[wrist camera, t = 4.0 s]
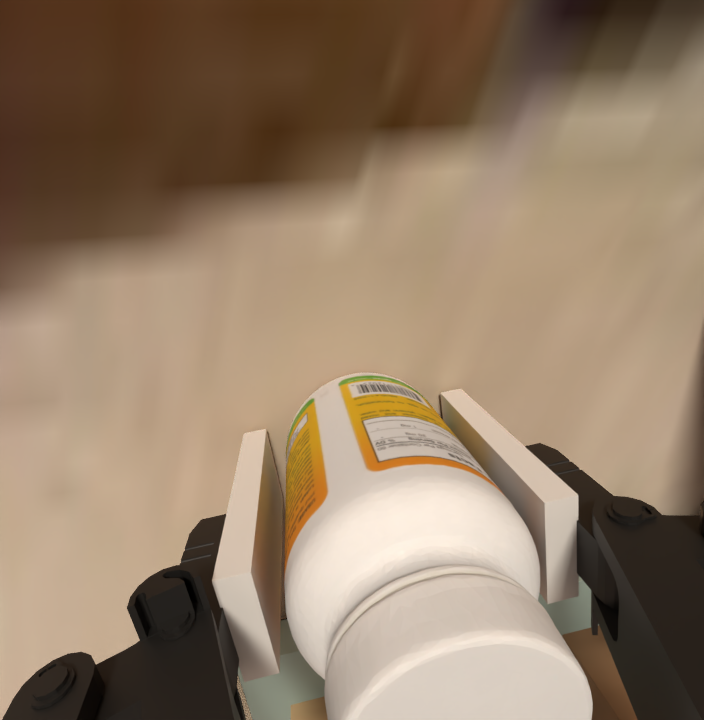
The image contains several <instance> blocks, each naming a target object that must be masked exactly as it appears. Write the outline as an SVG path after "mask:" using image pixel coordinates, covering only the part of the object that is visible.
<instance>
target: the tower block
mask: <svg viewBox="0 0 704 720" xmlns="http://www.w3.org/2000/svg"><path fill="white" fill-rule="evenodd" d="M562 637H563V639H564V640H565V642H566V644H567V645H568V647H569V648H570V650H571V652H572V653H573V655H574V656H575V658H576V659H577V661H578V663H579V664H580V666H581V668H582V669H583V671H584V673H585V675H586V677H587V680H588V683H589V686H590V690H591V695H592V702H593V709H592V719H591V720H637V717H636V715H635V712H634V710H633V707H632V705H631V702H630V700H629V697H628V695H627V693H626V690H625V688H624V685H623V683H622V680H621V678H620V675H619V673H618V670H617V668H616V665H615V663H614V660H613V658H612V656H611V653H610V651H609V648H608V646H607V643H606V641H605V638H604V636H603V633H602V631H601V628H600V626H599V625H598V635H592V630H591V628H587V629H583V630H579V631H575V632H571V633H567V634H564V635H562Z"/></svg>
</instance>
